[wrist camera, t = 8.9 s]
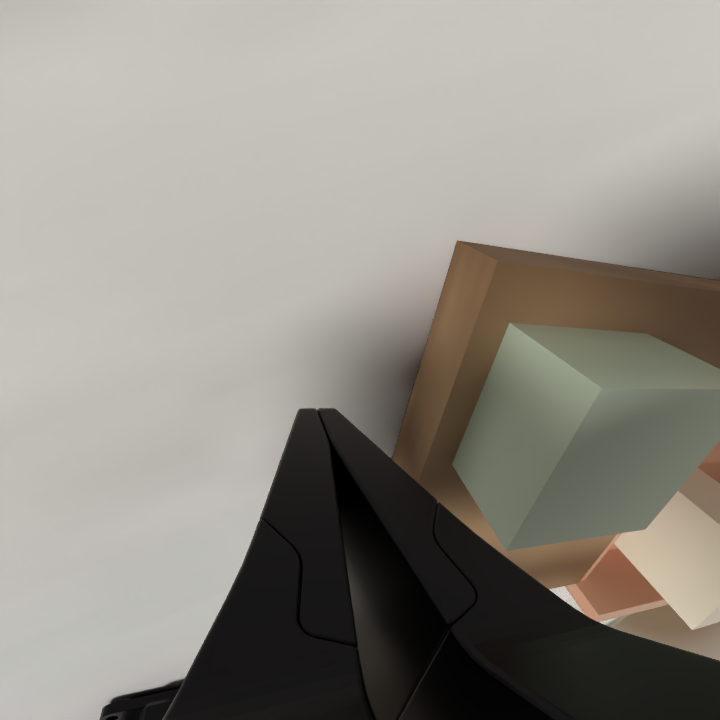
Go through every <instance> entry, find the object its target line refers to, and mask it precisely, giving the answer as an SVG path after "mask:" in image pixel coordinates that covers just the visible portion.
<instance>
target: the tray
mask: <svg viewBox="0 0 720 720" xmlns="http://www.w3.org/2000/svg"><path fill="white" fill-rule="evenodd" d="M698 468H699V469H701V470H702V471H703V472H705V473H706V474H707V475H709V476H710V477H711V478H713V479H714V480H716V481H717V482H718V483H720V441H719V442H718V444H717V445H716V446H715V447H714V448H713V450H712V451H711V452H710V453H709V454H708V456H707V457H706V458H705V459H704V460H703V461H702V463H701V464H700V465H699V466H698ZM621 534H622V533H620V534H617V535H616V536H615V538H614V539H613V540H612V541H611V543H610V544H609V545H608V546H607V548H606V549H605V550H604V551H603V553H602V554H601V555H600V557H599V558H598V559H597V560H596V562H595V563H594V564H593V565H592V567H591V568H590V569H589V570H588V572H587V573H586V574H585V576H584V577H583V578H582V579H581V581H580V582H579V583H577V584H572V585H567V586H565V587H566V589H567V590H568V591H569V593H570V594H571V596H572V597H573V599H574V600H575V601H576V603H577V604H578V606H579V607H580V608H581V610H582V611H583V613H584V614H585V615H586V616H588V617H589V618H591V619H593V620H595V621H597V622H600V621H604V620H608V619H612V618H616V617H620V616H624V615H628V614H632V613H636V612H640V611H644V610H648V609H652V608H656V607H660V606H664V605H668V603H667V602H666V600H665V599H664V598H663V597H662V596H661V595H660V594H659V593H658V592H657V591H656V589H655V588H654V587H653V586H652V585H651V584H650V583H649V582H648V581H647V579H646V578H645V577H644V576H643V575H642V574H641V573H640V572H639V571H638V569H637V568H636V567H635V566H634V565H633V564H632V563H631V562H630V561H629V559H628V558H627V557H626V556H625V555H624V554H623V553H622V552H621V551H620V549H619V548H618V547H617V546H616V545H615V544H614V543H615V541H616V540H617V539H618V538H619V536H620V535H621Z"/></svg>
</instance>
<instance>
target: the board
mask: <svg viewBox="0 0 720 720" xmlns="http://www.w3.org/2000/svg"><path fill="white" fill-rule="evenodd" d="M509 323H519V324H532V325H545V326H558V327H571V328H584V329H597V330H610V331H623V332H636V333H647V334H649V335H651V336H653V337H655V338H657V339H659V340H661V341H663V342H665V343H667V344H670V345H672V346H674V347H676V348H678V349H680V350H682V351H684V352H686V353H688V354H690V355H692V356H694V357H696V358H698V359H700V360H702V361H704V362H706V363H708V364H710V365H712V366H714V367H716V368H718V369H720V281H718V280H712V279H705V278H699V277H692V276H685V275H679V274H672V273H666V272H659V271H653V270H646V269H640V268H633V267H626V266H620V265H613V264H607V263H600V262H594V261H587V260H581V259H574V258H567V257H561V256H554V255H548V254H541V253H535V252H528V251H521V250H515V249H508V248H502V247H495V246H489V245H482V244H476V243H469V242H462V241H457V243H456V246H455V250H454V253H453V256H452V260H451V263H450V266H449V270H448V273H447V276H446V280H445V283H444V286H443V290H442V293H441V296H440V300H439V303H438V306H437V310H436V313H435V316H434V320H433V323H432V326H431V330H430V333H429V336H428V340H427V343H426V346H425V350H424V353H423V356H422V360H421V363H420V366H419V370H418V373H417V376H416V380H415V383H414V386H413V390H412V393H411V396H410V400H409V403H408V406H407V410H406V413H405V416H404V420H403V423H402V426H401V430H400V433H399V436H398V440H397V443H396V446H395V450H394V453H393V456H392V460H393V461H394V462H395V463H396V464H398V465H399V466H400V467H401V468H402V469H403V470H404V471H405V472H406V473H408V474H409V475H410V476H411V477H412V478H413V479H414V480H415V481H417V482H418V483H419V484H420V485H421V486H422V487H423V488H424V489H425V490H427V491H428V492H429V493H430V494H431V495H432V496H433V497H434V498H436V499H437V503H438V502H440V503H441V504H442V505H444V506H445V507H446V508H447V509H448V510H449V511H450V512H451V513H452V514H454V515H455V516H456V517H457V518H458V519H459V520H461V521H462V522H463V523H464V524H465V525H466V526H468V527H469V528H470V529H471V530H472V531H473V532H475V533H476V534H477V535H478V536H480V537H481V538H482V539H483V540H485V541H486V542H487V543H489V544H490V545H491V546H492V547H494V548H495V549H496V550H497V551H499V552H500V553H501V554H503V555H504V556H505V557H507V558H508V559H509V560H511V561H512V562H513V563H514V564H516V565H517V566H518V567H520V568H521V569H522V570H524V571H525V572H526V573H528V574H529V575H530V576H532V577H533V578H534V579H536V580H537V581H538V582H540V583H541V584H542V585H544V586H545V587H546V588H548V589H552V588H557V587H562V586H567V585H572V584H577V583H579V582H580V581H581V579H582V578H583V577H584V576H585V574H586V573H587V572H588V570H589V569H590V568H591V567H592V565H593V564H594V563H595V562H596V560H597V559H598V558H599V557H600V555H601V554H602V553H603V551H604V550H605V549H606V548H607V546H608V545H609V544H610V543H611V541H612V540H613V539H614V538H615V536H616V535H617V534H613V535H607V536H600V537H594V538H587V539H581V540H574V541H568V542H561V543H555V544H548V545H542V546H535V547H529V548H522V549H516V550H510V551H506V550H505V549H504V547H503V546H502V544H501V542H500V541H499V539H498V538H497V536H496V534H495V533H494V531H493V529H492V528H491V526H490V525H489V523H488V521H487V520H486V518H485V517H484V515H483V513H482V512H481V510H480V509H479V507H478V505H477V504H476V502H475V501H474V499H473V497H472V496H471V494H470V493H469V491H468V489H467V488H466V486H465V485H464V483H463V481H462V480H461V478H460V477H459V475H458V473H457V472H456V470H455V469H454V467H453V465H452V463H453V460H454V458H455V456H456V453H457V451H458V448H459V446H460V443H461V441H462V438H463V436H464V433H465V431H466V429H467V426H468V424H469V421H470V419H471V416H472V414H473V411H474V409H475V406H476V404H477V401H478V399H479V397H480V394H481V392H482V389H483V387H484V384H485V382H486V379H487V377H488V374H489V372H490V370H491V367H492V365H493V362H494V360H495V357H496V355H497V352H498V350H499V347H500V345H501V343H502V340H503V338H504V335H505V333H506V330H507V328H508V325H509Z"/></svg>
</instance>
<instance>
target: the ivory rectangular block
mask: <svg viewBox="0 0 720 720" xmlns="http://www.w3.org/2000/svg"><path fill="white" fill-rule="evenodd" d="M614 544H615V545H616V546H617V547H618V548H619V549H620V551H621V552H622V553H623V554H624V555H625V556H626V557H627V558H628V559H629V561H630V562H631V563H632V564H633V565H634V566H635V567H636V568H637V569H638V571H639V572H640V573H641V574H642V575H643V576H644V577H645V578H646V579H647V581H648V582H649V583H650V584H651V585H652V586H653V587H654V588H655V589H656V591H657V592H658V593H659V594H660V595H661V596H662V597H663V598H664V599H665V600H666V602H667V603H668V604H669V605H670V606H671V607H672V608H673V609H674V610H675V611H676V613H677V614H678V615H679V616H680V617H681V618H682V619H683V620H684V622H685V623H686V624H687V625H688V626H689V627H690V628H691V629H692V630H694V629H697V628H701V627H704V626H707V625H711V624H714V623H717V622H720V483H718V482H717V481H716V480H714V479H713V478H711V477H710V476H709V475H707V474H706V473H705V472H703V471H702V470H701V469H699V468H698V467H697V469H696V470H695V471H694V472H693V473H692V475H691V476H690V477H689V478H688V479H687V481H686V482H685V483H684V484H683V485H682V487H681V488H680V489H679V490H678V491H677V493H676V494H675V495H674V496H673V497H672V499H671V500H670V501H669V502H668V503H667V504H666V506H665V507H664V508H663V509H662V510H661V512H660V513H659V514H658V515H657V516H656V518H655V519H654V520H653V521H652V522H651V524H650V525H649V526H648V527H647V528H646V529H645V530H639V531H633V532H626V533H622V534H621V535H620V536H619V538H618V539H617V540H616V541H615V543H614Z"/></svg>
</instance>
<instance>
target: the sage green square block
mask: <svg viewBox="0 0 720 720" xmlns="http://www.w3.org/2000/svg"><path fill="white" fill-rule="evenodd" d="M719 441H720V369H718V368H716V367H714V366H712V365H710V364H708V363H706V362H704V361H702V360H700V359H698V358H696V357H694V356H692V355H690V354H688V353H686V352H684V351H682V350H680V349H678V348H676V347H674V346H672V345H670V344H667V343H665V342H663V341H661V340H659V339H657V338H655V337H653V336H651V335H649V334H647V333H636V332H623V331H610V330H597V329H584V328H571V327H558V326H545V325H532V324H519V323H509V325H508V328H507V330H506V333H505V335H504V338H503V340H502V343H501V345H500V347H499V350H498V352H497V355H496V357H495V360H494V362H493V365H492V367H491V370H490V372H489V374H488V377H487V379H486V382H485V384H484V387H483V389H482V392H481V394H480V397H479V399H478V401H477V404H476V406H475V409H474V411H473V414H472V416H471V419H470V421H469V424H468V426H467V429H466V431H465V433H464V436H463V438H462V441H461V443H460V446H459V448H458V451H457V453H456V456H455V458H454V460H453V463H452V465H453V467H454V469H455V470H456V472H457V473H458V475H459V477H460V478H461V480H462V481H463V483H464V485H465V486H466V488H467V489H468V491H469V493H470V494H471V496H472V497H473V499H474V501H475V502H476V504H477V505H478V507H479V509H480V510H481V512H482V513H483V515H484V517H485V518H486V520H487V521H488V523H489V525H490V526H491V528H492V529H493V531H494V533H495V534H496V536H497V538H498V539H499V541H500V542H501V544H502V546H503V547H504V549H505V550H506V551H510V550H516V549H522V548H529V547H535V546H542V545H548V544H555V543H561V542H568V541H574V540H581V539H587V538H594V537H600V536H607V535H613V534H620V533H626V532H633V531H639V530H645V529H646V528H647V527H648V526H649V525H650V524H651V522H652V521H653V520H654V519H655V518H656V516H657V515H658V514H659V513H660V512H661V510H662V509H663V508H664V507H665V506H666V504H667V503H668V502H669V501H670V500H671V499H672V497H673V496H674V495H675V494H676V493H677V491H678V490H679V489H680V488H681V487H682V485H683V484H684V483H685V482H686V481H687V479H688V478H689V477H690V476H691V475H692V473H693V472H694V471H695V470H696V469H697V467H698V466H699V465H700V464H701V463H702V461H703V460H704V459H705V458H706V457H707V456H708V454H709V453H710V452H711V451H712V450H713V448H714V447H715V446H716V445H717V444H718V442H719Z"/></svg>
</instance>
